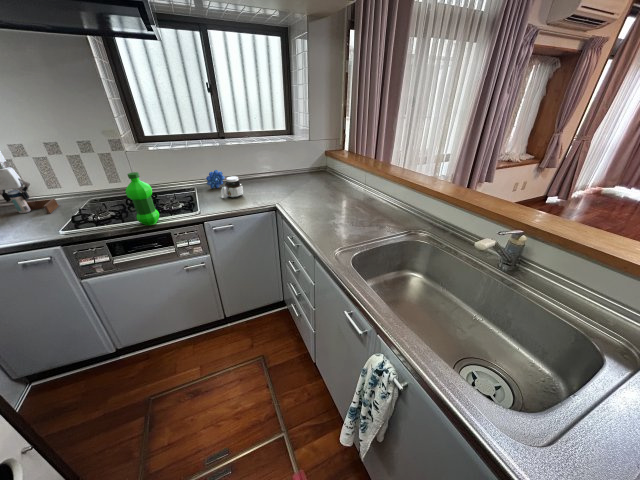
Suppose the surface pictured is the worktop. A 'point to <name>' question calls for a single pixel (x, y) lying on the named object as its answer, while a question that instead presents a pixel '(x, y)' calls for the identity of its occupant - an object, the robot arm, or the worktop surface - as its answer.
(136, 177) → the plastic bottle
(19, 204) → the white pill bottle
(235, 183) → the spread jar
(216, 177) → the blue knobbly toy
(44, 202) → the corner rack
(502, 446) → the worktop surface
